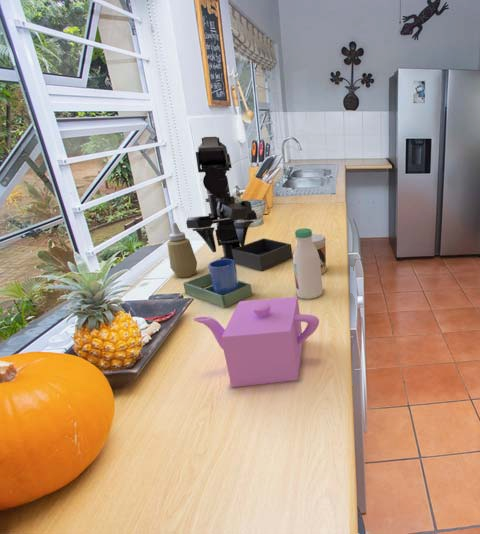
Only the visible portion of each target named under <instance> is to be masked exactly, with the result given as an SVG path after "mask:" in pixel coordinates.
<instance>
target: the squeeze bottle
mask: <svg viewBox="0 0 480 534" xmlns="http://www.w3.org/2000/svg"><path fill="white" fill-rule="evenodd" d="M168 238H169V240H168V242H167V251H168V258H169V265H170V269H171V270H172V272H173V273H174V275H175V276H176V277H177V278H188V277H191V276H193V275H195V274H196V273H197V267H198V261H197V258H196V256H195V255H196V254H195V253H194V250H193V246H192V244H191V241H190V239H189V238H187V237H186V234H185V232H184V231H181V230H180V228H179V226H178V224H177V222H172V223H171V233H169V234H168Z"/></svg>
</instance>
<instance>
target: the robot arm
mask: <svg viewBox="0 0 480 534" xmlns="http://www.w3.org/2000/svg"><path fill="white" fill-rule="evenodd" d="M195 158H196V165H197V172H198V173H200V174H201V173H204V176H203V179H202V184H203V186H204V188H205V189H206V194H207V198H205V202H206V203H208V205H209V209H210V213H208V215H199V216H191V217H187V219H186V222H185V224H186V228H187V229H191V230H192V232H196V233H197V234H198V235H199V236H200V237H201V239H202V240H203V241H204V242H205V244H206V245H207V246H208V248H209V249H210V250H211V252H212V253H217V246H218V247H220V246H221V248H222V252H223V256H222V257H220V259H232V260H234V259H233V254H232V249H234V248H237V247H240V246H244V245H246V244H245V243H246V238H247V234H248V230H249V227H250V226H251V224H253V223H254V221H255V220H258V216H257V212H255V210H254V209H252V208H253V207H252V203H251V201H250V200H242V201H241V202H237V201H236V198H235V197H234V196H233V195H232V196H231V190H230V185H229V180H228V179H229V178H228V175H227V172H230V171H231V169H232V162H231V156H230V153H228V149H227V146H226V145H225V144H224V143H223V142H222V141H220V137H218V136H203V137H201V144H200V145H199V146H198V147H197V151H195ZM214 224H216V229H215V226H214V227H213V225H214ZM214 231H215V236H214ZM215 238H216V241H215ZM216 242H217V245H216Z"/></svg>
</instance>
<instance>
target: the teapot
mask: <svg viewBox="0 0 480 534" xmlns="http://www.w3.org/2000/svg"><path fill="white" fill-rule="evenodd" d="M298 297H299V296H291V297H279V298H278V297H276V298H265V299H252V300H251V299H250V300H240V301H238V302H237V305H236V306H235V308H234V311H233V312H232V315H231V316H230V318H229V320H228V323H227V325H226V326H225V328H224V327H223V326H222V325H221V323H220V322H219V321H218V320H216V319H215V318H213V317H210V316H199V317H195V318H193V321H194V322H196V323H200V324H202V325H204V326H205V327H207V328H208V329H209V330H210V331H211V333H212V335H213V337H214V339H215V341H216V342H217V344H218V345H219V347H220V349H221V350H223V353H224V358H225V363H226V368H227V372H228V376H229V377H228V378H229V382H230V385H231V388H236V387H237V388H238V387H248V386H256V385H257V386H258V385H267V384H275V383H285V382H294V381H298V380H299V371H300V366H301V365H300V364H301V357H302V351H303V342H304V341H306V340H307V339H308V338H310V337H311V336H312V335H313V334H314V333H315V332H316V331H317V329H318V327H319V326H320V325H319V324H320V320H319V318H318V316H316V315H313V314H305V313H300V312H301V311H300V305H299V298H298ZM302 323H307V324H306V327H305V328H304V330H303V329H302V328H303V327H302Z"/></svg>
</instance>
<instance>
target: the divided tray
mask: <svg viewBox="0 0 480 534" xmlns="http://www.w3.org/2000/svg"><path fill="white" fill-rule="evenodd" d="M238 282H239V289H237V290H234V291H232V292H230V293H228V294H225V295H220V294H217V293H214V289H213V284H212V280H211V275H210V272H207V273H206V274H203V275H200V276H198V277H195V278H193V279H190V280H187V281H184V282H183V289H184V292H185V294H186V295H189V296H192V297H195V298H196V299H197V298H198V299H200V300H202V301H205V302H208V303H211V304H212V305H213V304H214V305H216V306H219V307H222V308H223V309H225V308H227V307H230V306H231V305H234V304H236V303H239V301H243V300H244V299H246V298H248V297H250V296H252V295H253V289H252V284H251V283H248V282H245V281H243V280H239V279H238ZM206 286H207V287H206Z"/></svg>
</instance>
